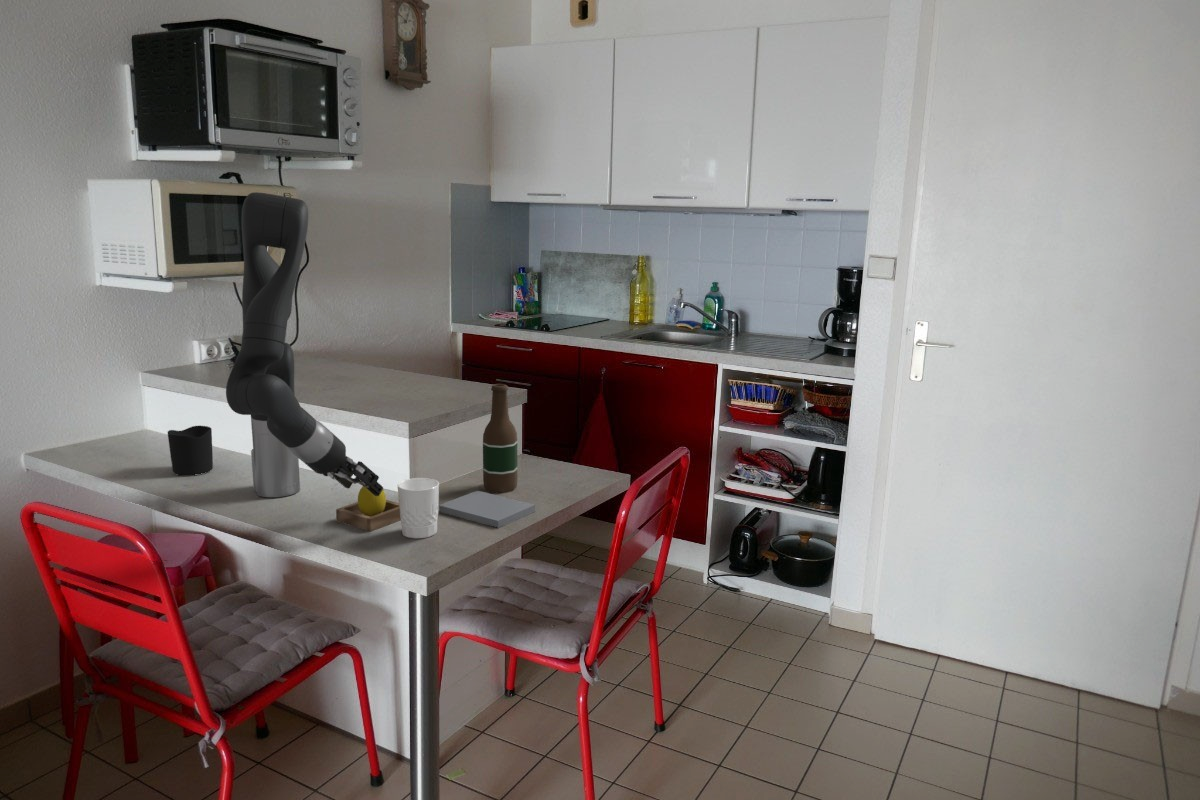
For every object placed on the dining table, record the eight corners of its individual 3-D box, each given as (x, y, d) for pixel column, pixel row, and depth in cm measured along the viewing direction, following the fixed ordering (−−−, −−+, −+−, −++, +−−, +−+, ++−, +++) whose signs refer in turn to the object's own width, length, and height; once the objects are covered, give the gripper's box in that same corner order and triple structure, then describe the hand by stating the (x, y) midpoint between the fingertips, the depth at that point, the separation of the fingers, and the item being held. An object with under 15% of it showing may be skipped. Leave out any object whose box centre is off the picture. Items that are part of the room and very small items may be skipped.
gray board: (439, 512, 184) (439, 505, 184) (477, 497, 194) (477, 490, 194) (498, 528, 176) (498, 520, 175) (534, 511, 185) (535, 504, 185)
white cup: (442, 525, 177) (441, 477, 174) (436, 540, 169) (435, 490, 167) (403, 525, 176) (401, 477, 174) (395, 540, 169) (393, 490, 166)
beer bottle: (484, 494, 196) (483, 388, 191) (482, 483, 204) (480, 381, 198) (519, 492, 198) (519, 387, 192) (515, 482, 205) (515, 381, 200)
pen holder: (207, 476, 205) (204, 435, 203) (165, 477, 204) (161, 435, 202) (219, 465, 214) (216, 425, 212) (179, 465, 213) (175, 425, 211)
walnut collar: (336, 520, 178) (336, 509, 178) (374, 507, 186) (373, 496, 186) (371, 531, 173) (370, 519, 172) (408, 517, 181) (407, 505, 180)
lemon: (360, 514, 182) (359, 477, 180) (388, 514, 182) (386, 477, 181) (356, 524, 176) (354, 486, 175) (384, 523, 177) (383, 485, 175)
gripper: (351, 434, 163) (399, 478, 174) (301, 423, 170) (350, 466, 182) (330, 468, 159) (380, 511, 171) (279, 455, 167) (331, 497, 179)
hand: (364, 488), depth 177 cm, fingers open, 8 cm apart
